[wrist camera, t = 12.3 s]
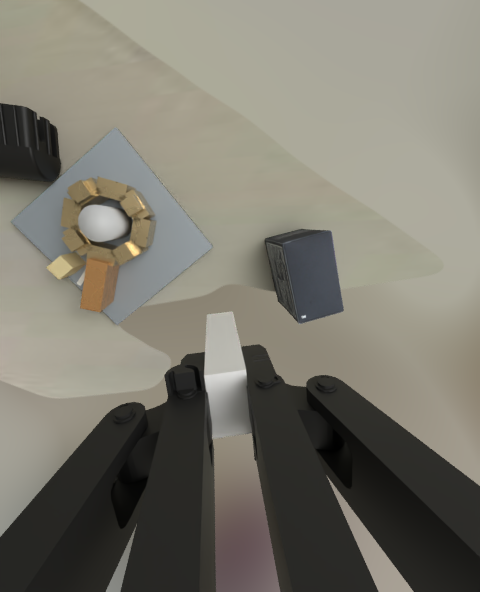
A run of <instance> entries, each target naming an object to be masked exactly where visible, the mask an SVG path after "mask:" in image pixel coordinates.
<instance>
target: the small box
mask: <svg viewBox="0 0 480 592" xmlns="http://www.w3.org/2000/svg"><path fill="white" fill-rule="evenodd" d="M265 243H266V248H267V253H268V257H269V262H270V267H271V271H272V276H273V281H274V285H275V290H276V294H277V297H278V302H279V303H280V304H282V306H284V308H285V309H287V311H288V312H289V313H290V314H291V315H292V316H293V317H294V319H295V320H296V321H297V322H298V323H299V324H302V323H305V322H309V321H312V320H316V319H319V318H323V317H326V316H330V315H333V314H337V313H340V312H343V310H344V309H343V303H342V297H341V290H340V284H339V278H338V271H337V265H336V258H335V251H334V245H333V238H332V232H331V231H328V230H327V231H326V230H306V229H300V230H296V231H292V232H288V233H284V234H281V235H277V236H273V237H269V238H266V239H265Z"/></svg>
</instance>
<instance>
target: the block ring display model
mask: <svg viewBox="0 0 480 592" xmlns="http://www.w3.org/2000/svg"><path fill="white" fill-rule="evenodd" d="M90 177H92V178H95V179H97V178H98V177H102V178H105V179H109V180H112V181H116V182H119V183H123V184H126V185H129V186H131V187H133V188H136V191H139V192H141V193H142V194H143V196H144V198H145V199H146V201H147V202H148V204H149V205H150V207H151V209H152V210H153V212H154V213H155V216H154V217H152V218H150V219H151V220H155V221H157V223H156V228H155V234H154V239H153V244H152V245H151V246H148V248H149V250H147V251H146V252H144V253H142V254H141V255H139V256H137V257H136V258H134V259H132V260H131V261H129V262H127V263H125V264H123V265H121V266H119V272H118V278H117V284H116V290H115V296H114V301H113V302H112V303H111V304H110V305H108V306H107V307H106V308H105V309H104V310H102V311H103V312H104V313H105V314H106V315H107V316H108V317H109V318H110V319H111V320H112V321H113V322H114V323H115V324H116V325H118V324H119V323H120V322H122V321H123V320H124V319H125V318H127V317H128V316H129V315H130V314H131V313H133V312H134V311H135V310H136V309H138V308H139V307H140V306H141V305H143V304H144V303H145V302H146V301H147V300H149V299H150V298H151V297H152V296H154V295H155V294H156V293H157V292H158V291H160V290H161V289H162V288H163V287H165V286H166V285H167V284H168V283H169V282H171V281H172V280H173V279H174V278H176V277H177V276H178V275H179V274H181V273H182V272H183V271H184V270H185V269H187V268H188V267H189V266H190V265H192V264H193V263H194V262H195V261H196V260H198V259H199V258H200V257H201V256H203V255H204V254H205V253H206V252H207V251H209V250H210V249H211V248H212V247H213V246H212V244H211V243H210V242H209V241H208V240H207V238H206V237H205V236H204V235H203V233H202V232H201V231H200V230H199V228H198V227H197V226H196V225H195V223H194V222H193V221H192V220H191V219H190V217H189V216H188V215H187V214H186V212H185V211H184V210H183V209H182V207H181V206H180V205H179V204H178V202H177V201H176V200H175V199H174V198H173V196H172V195H171V194H170V193H169V191H168V190H167V189H166V188H165V186H164V185H163V184H162V183H161V181H160V180H159V179H158V178H157V177H156V175H155V174H154V173H153V172H152V170H151V169H150V168H149V167H148V165H147V164H146V163H145V162H144V160H143V159H142V158H141V157H140V156H139V154H138V153H137V152H136V151H135V149H134V148H133V147H132V146H131V144H130V143H129V142H128V141H127V139H126V138H125V137H124V136H123V135H122V133H121V132H120V131H119V130H118V129H117V128H116V127H115V128H114V129H113V130H112V131H111V132H110V133H108V134H107V135H106V136H105V137H104V138H103V139H102V140H101V141H100V142H98V143H97V144H96V145H95V146H94V147H93V148H92V149H91V150H90V151H88V152H87V153H86V154H85V155H84V156H83V157H82V158H81V159H80V160H78V161H77V162H76V163H75V164H74V165H73V166H72V167H71V168H70V169H68V170H67V171H66V172H65V173H64V174H63V175H62V176H61V177H60V178H58V179H57V180H56V181H55V182H54V183H53V184H52V185H51V186H50V187H48V188H47V189H46V190H45V191H44V192H43V193H42V194H41V195H40V196H39V197H37V198H36V199H35V200H34V201H33V202H32V203H31V204H30V205H29V206H27V207H26V208H25V209H24V210H23V211H22V212H21V213H20V214H19V215H17V216H16V217H15V218H14V219H13V220H12V221H11V222H12V223H13V224H14V225H15V226H16V227H17V228H18V229H19V230H20V231H21V232H22V233H23V234H24V235H25V236H26V237H27V238H28V239H29V240H30V241H31V242H32V243H33V244H34V245H35V246H36V247H37V248H38V249H39V250H40V251H41V252H42V253H43V254H44V255H45V256H46V257H48V258H49V259H50V260H51V261H52V263H51V264H50V265H49V266H48V267H46V268H47V269H48V270H49V271H50V272H51V273H52V274H53V275H54V276H55V277H56V278H58V279H59V280H60V279H63V278H65V277H68V278H69V279H70V280H71V281H72V282H73V283H74V284H75V285H76V286H77V287H78V288H79V289H80V290H81V291H82V292H83V284H84V277H85V270H86V263H87V260H86V258H87V255H84V256H80V255H79V254H78V252H77V251H73V252H71V250H70V249H69V248H68V246H67V245H66V244H65V243H64V241H63V240H62V239H61V238H62V237H64V236H65V235H64V234H63V233H62V232H64V231H66V230H67V229H69V228H67V227H63V226H61V217H62V208H63V199H64V198H70V199H72V198H71V197H70V196H69V194H68V193H67V192H68V191H69V190H68V189H67V188H68V187H69V186H71V185H73V184H74V183H76V182H77V181H79V180H83V181H86V180H87V179H89V178H90ZM119 202H121V201H119V200H115V199H111V198H110V199H108V200H107V201H105V202H103V203H102V204H100V205H89V206H87V207H85V208H84V209H83V210H82V211H81V212H80V214H79V217H78V225H79V228H80V230H81V232H82V233H83V234H84V235H85V236H86V237H87V238H88V239H90V240H92V241H96V242H104V243H108V244H112V245H116V246H121V245H122V244H124V243H126V242H127V241H129V240H130V236H131V231H132V225H133V219H132V217H129V216H128V215H127V213H126V212H125V210H124V209H123V207H122V206H121V204H120V203H119Z"/></svg>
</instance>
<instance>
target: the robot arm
mask: <svg viewBox="0 0 480 592" xmlns="http://www.w3.org/2000/svg"><path fill="white" fill-rule="evenodd" d="M164 376H165V381H166V387H167V392H168V399H167V402H165V403H163V404H162V405H160V406H157V407H155V408H152V409H149V410H145V406H143V405H142V404H141V403H136V402H132V403H126V404H122V405H120V406H118V407H116V408H114V409H112V410H111V411H110V412H109V413H108V414H107V415H106V416H105V417H104V418H103V419H102V420H101V421H100V423H99V424H98V425H97V426H96V427H95V428H94V429H93V431H92V432H91V433H90V434H89V435H88V436H87V438H86V439H85V440H84V441H83V442H82V443H81V444H80V446H79V447H78V448H77V449H76V450H75V451H74V453H73V454H72V455H71V456H70V457H69V459H68V460H67V461H66V462H65V463H64V464H63V465H62V466H61V468H60V469H59V470H58V471H57V472H56V473H55V475H54V476H53V477H52V478H51V479H50V480H49V482H48V483H47V484H46V485H45V486H44V487H43V488H42V490H41V491H40V492H39V493H38V494H37V495H36V496H35V498H34V499H33V500H32V501H31V502H30V503H29V505H28V506H27V507H26V508H25V509H24V510H23V511H22V513H21V514H20V515H19V516H18V517H17V518H16V520H15V521H14V522H13V523H12V524H11V525H10V527H9V528H8V529H7V530H6V531H5V532H4V534H3V535H2V536H1V537H0V592H106V589H107V587H108V585H109V583H110V580H111V579H112V576H113V574H114V572H115V570H116V568H117V566H118V563H119V561H120V559H121V557H122V555H123V553H124V550H125V548H126V546H127V544H128V542H129V540H130V537H131V535H132V533H133V531H134V529H135V527H136V524H137V527H136V530H135V534H134V539H133V543H132V547H131V551H130V555H129V559H128V563H127V567H126V571H125V575H124V580H123V584H122V588H121V592H216V577H215V576H216V574H215V571H216V570H215V503H214V502H215V497H214V447H213V440H212V435H213V439H215V438H222V437H229V436H236V435H242V434H249V433H252V436H253V445H254V457H255V460H256V461H257V467H258V472H259V478H260V483H261V489H262V494H263V499H264V504H265V510H266V515H267V521H268V527H269V532H270V538H271V543H272V548H273V554H274V559H275V565H276V570H277V575H278V581H279V586H280V591H281V592H378V590H377V587H376V585H375V583H374V581H373V579H372V576H371V574H370V572H369V570H368V568H367V565H366V563H365V561H364V558H363V556H362V554H361V552H360V550H359V547H358V545H357V543H356V541H355V539H354V536H353V534H352V532H351V530H350V527H349V525H348V523H347V520H346V518H345V516H344V514H343V512H342V509H341V507H340V505H339V503H338V500H337V498H336V496H335V494H334V491H333V489H332V487H331V485H330V483H329V480H328V478H329V479H330V480H331V481H332V483H333V484H334V486H335V487H336V488H337V490H338V491H339V492H340V493H341V495H342V496H343V498H344V499H345V500H346V502H347V503H348V504H349V506H350V507H351V508H352V510H353V511H354V512H355V514H356V515H357V516H358V517H359V519H360V520H361V522H362V523H363V524H364V526H365V527H366V528H367V530H368V531H369V532H370V534H371V535H372V536H373V538H374V539H375V540H376V542H377V543H378V544H379V546H380V547H381V548H382V550H383V551H384V552H385V553H386V555H387V556H388V558H389V559H390V560H391V562H392V563H393V564H394V566H395V567H396V568H397V570H398V571H399V572H400V574H401V575H402V576H403V578H404V579H405V580H406V582H407V583H408V584H409V586H410V587H411V588H412V590H413V591H414V592H480V486H479V485H478V484H476V483H475V482H474V481H472V480H471V479H470V478H468V477H467V476H466V475H464V474H463V473H462V472H461V471H459V470H458V469H457V468H455V467H454V466H453V465H451V464H450V463H449V462H447V461H446V460H445V459H444V458H442V457H441V456H440V455H438V454H437V453H436V452H434V451H433V450H432V449H430V448H429V447H428V446H427V445H425V444H424V443H423V442H421V441H420V440H419V439H417V438H416V437H414V436H413V435H412V434H411V433H410V432H408V431H407V430H406V429H404V428H403V427H402V426H400V425H399V424H398V423H396V422H395V421H394V420H392V419H391V418H390V417H389V416H387V415H386V414H385V413H383V412H382V411H381V410H379V409H378V408H377V407H375V406H374V405H373V404H372V403H370V402H369V401H368V400H366V399H365V398H364V397H362V396H361V395H360V394H358V393H357V392H356V391H354V390H353V389H352V388H351V387H349V386H348V385H347V384H345V383H344V382H343V381H341V380H339V379H338V378H336V377H332V376H328V375H320V376H315V377H313V378H310V379H309V380H308V381H307V386H306V387H300V386H291V385H288V384H285V382H284V380H283V379H282V378H281V376H279V375H277V374H276V372H275V370H274V367H273V365H272V363H271V360H270V358H269V356H268V353H267V351H266V349H265V348H264V347H262V346H261V345H251V346H243V347H241V346H240V341H239V337H238V333H237V328H236V324H235V320H234V315H233V312H225V313H215V314H208V315H207V326H206V347H205V352H202V353H195V354H187V355H186V356H185V357H184V358H183V359H182V360H181V364H180V365H177V366H175V367H173V368H171V369H170V370H168V371H167V372H166V374H165V375H164ZM326 475H327V476H328V478H327V476H326Z"/></svg>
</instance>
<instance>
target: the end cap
mask: <svg viewBox="0 0 480 592" xmlns="http://www.w3.org/2000/svg"><path fill="white" fill-rule="evenodd" d="M60 165H61V163H60V158H59V145H58V132H57V128H56V127H55V126H54V125H52V124H50V122H49V120H47V119H45V118H44V117H40V120H37V113H36V112H34V111H32V110H31V109H29V108H27V107H23V106H17V105H9V104H1V103H0V177H7V178H17V179H27V180H38V181H48V182H51V181H54V180H55V179H56V178H57V177H58V175H59V172H60Z"/></svg>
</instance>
